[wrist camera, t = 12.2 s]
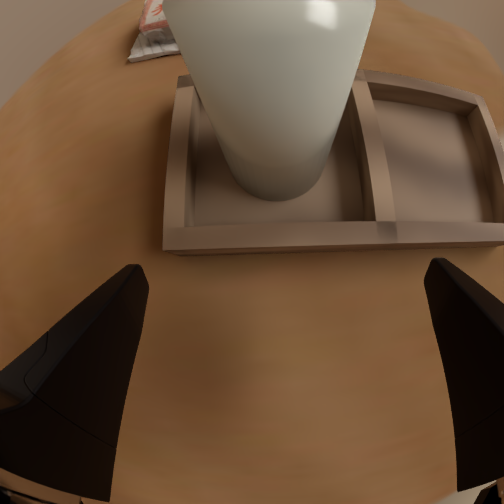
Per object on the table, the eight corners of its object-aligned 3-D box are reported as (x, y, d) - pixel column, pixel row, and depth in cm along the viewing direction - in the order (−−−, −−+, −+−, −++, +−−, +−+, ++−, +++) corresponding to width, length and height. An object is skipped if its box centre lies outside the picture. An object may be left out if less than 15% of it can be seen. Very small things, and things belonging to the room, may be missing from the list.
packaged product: (319, -30, 15) (330, 16, 14) (316, 2, 20) (324, 56, 19) (144, -16, 17) (110, 36, 16) (157, 12, 22) (131, 67, 21)
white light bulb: (261, 220, 16) (223, 73, 5) (211, 145, 17) (138, -7, 5) (343, 170, 16) (416, 15, 4) (288, 103, 17) (289, -54, 5)
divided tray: (498, 246, 16) (521, 240, 13) (180, 255, 18) (162, 250, 15) (466, 113, 17) (482, 96, 14) (189, 99, 19) (178, 76, 16)
